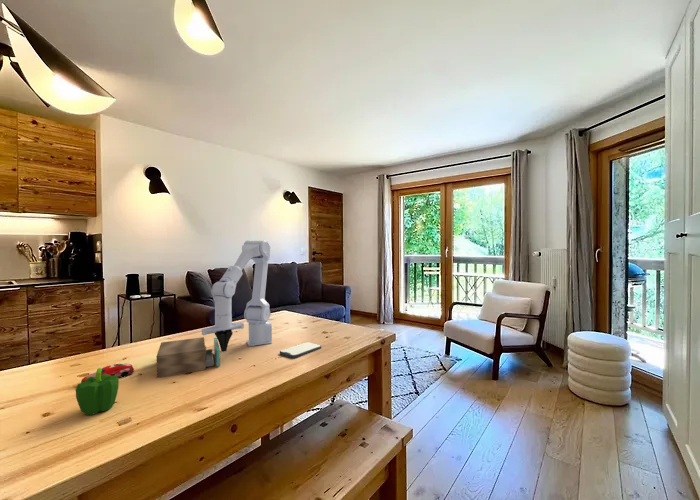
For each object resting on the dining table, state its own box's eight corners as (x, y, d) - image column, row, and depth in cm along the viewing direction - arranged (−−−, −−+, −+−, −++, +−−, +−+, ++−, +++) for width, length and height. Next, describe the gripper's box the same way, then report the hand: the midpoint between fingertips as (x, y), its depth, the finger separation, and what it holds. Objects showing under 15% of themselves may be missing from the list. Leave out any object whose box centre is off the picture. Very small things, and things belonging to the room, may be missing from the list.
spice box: (204, 354, 118) (203, 337, 118) (205, 369, 104) (205, 349, 104) (161, 361, 112) (161, 342, 112) (156, 377, 98) (156, 356, 98)
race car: (83, 390, 90) (82, 376, 90) (78, 385, 93) (78, 371, 93) (135, 374, 100) (135, 362, 100) (130, 370, 104) (129, 359, 104)
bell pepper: (108, 416, 75) (107, 375, 75) (68, 420, 73) (68, 379, 73) (125, 400, 83) (125, 363, 83) (90, 403, 82) (90, 365, 82)
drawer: (216, 352, 120) (216, 337, 120) (219, 366, 106) (219, 349, 106) (176, 358, 114) (176, 342, 114) (173, 373, 100) (173, 356, 100)
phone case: (307, 345, 132) (277, 355, 119) (307, 341, 132) (277, 351, 119) (322, 349, 126) (293, 360, 113) (323, 345, 126) (293, 355, 113)
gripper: (238, 309, 122) (239, 344, 122) (199, 315, 112) (199, 352, 112) (245, 312, 116) (246, 348, 116) (204, 318, 107) (205, 357, 107)
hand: (223, 350), depth 114 cm, fingers closed
